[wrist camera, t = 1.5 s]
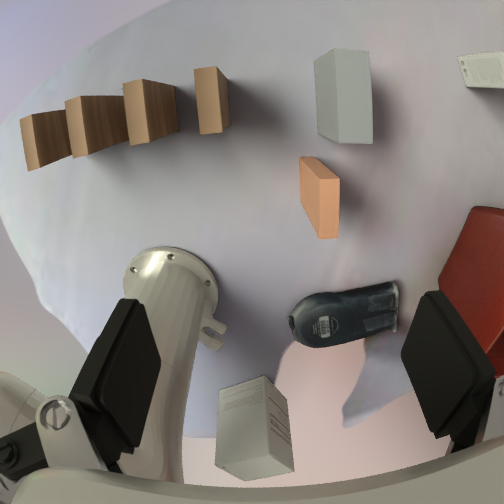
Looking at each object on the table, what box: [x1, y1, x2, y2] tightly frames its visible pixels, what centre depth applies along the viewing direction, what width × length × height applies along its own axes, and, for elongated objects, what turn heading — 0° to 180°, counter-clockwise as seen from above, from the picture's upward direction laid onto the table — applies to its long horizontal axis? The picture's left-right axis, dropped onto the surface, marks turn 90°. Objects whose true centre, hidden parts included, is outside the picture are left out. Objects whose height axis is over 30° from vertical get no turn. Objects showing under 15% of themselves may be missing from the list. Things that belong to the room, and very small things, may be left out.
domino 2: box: [65, 96, 129, 158], centre depth 24 cm, size 2×5×10 cm, turn 4°
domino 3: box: [123, 79, 179, 146], centre depth 24 cm, size 2×5×10 cm, turn 5°
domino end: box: [299, 157, 340, 239], centre depth 28 cm, size 2×5×10 cm, turn 5°
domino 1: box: [20, 109, 72, 171], centre depth 24 cm, size 2×5×10 cm, turn 4°
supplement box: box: [215, 375, 294, 481], centre depth 42 cm, size 9×9×15 cm
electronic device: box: [287, 281, 399, 348], centre depth 39 cm, size 9×6×15 cm
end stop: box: [314, 49, 373, 144], centre depth 24 cm, size 3×8×8 cm, turn 4°
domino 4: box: [194, 66, 231, 135], centre depth 24 cm, size 2×5×10 cm, turn 4°
